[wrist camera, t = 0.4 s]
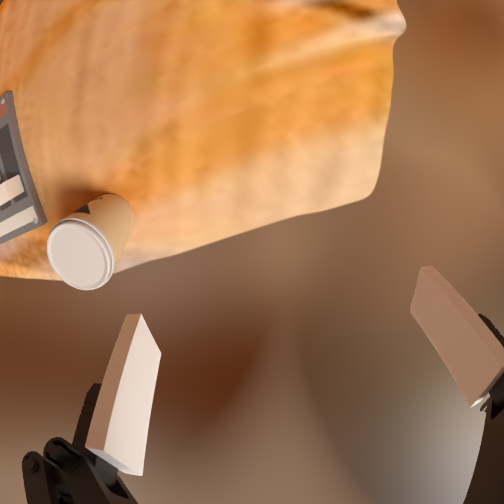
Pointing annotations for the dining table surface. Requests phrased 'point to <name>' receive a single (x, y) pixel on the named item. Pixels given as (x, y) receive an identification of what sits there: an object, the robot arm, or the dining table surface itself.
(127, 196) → the dining table surface
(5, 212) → the breaker panel
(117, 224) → the coffee cup
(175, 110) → the dining table surface
